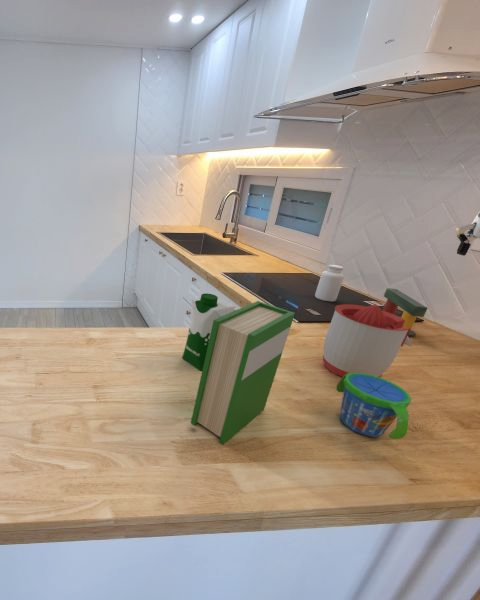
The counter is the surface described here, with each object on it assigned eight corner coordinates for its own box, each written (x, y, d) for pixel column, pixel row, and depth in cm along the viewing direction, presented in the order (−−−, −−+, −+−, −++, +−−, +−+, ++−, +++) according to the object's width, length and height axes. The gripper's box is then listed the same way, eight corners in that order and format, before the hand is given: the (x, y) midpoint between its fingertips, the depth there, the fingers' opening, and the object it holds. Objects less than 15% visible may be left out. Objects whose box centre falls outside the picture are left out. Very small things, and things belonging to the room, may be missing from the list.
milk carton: (177, 357, 95) (189, 291, 87) (200, 351, 99) (214, 287, 92) (201, 374, 88) (216, 303, 80) (224, 366, 92) (241, 298, 84)
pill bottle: (321, 294, 153) (332, 263, 148) (339, 301, 146) (352, 268, 141) (310, 296, 150) (320, 263, 145) (327, 302, 144) (339, 269, 138)
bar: (393, 297, 130) (397, 289, 129) (423, 317, 112) (427, 307, 111) (383, 296, 131) (386, 287, 130) (411, 315, 113) (416, 306, 112)
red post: (391, 317, 132) (400, 298, 129) (401, 324, 126) (410, 305, 123) (370, 314, 134) (378, 295, 131) (378, 321, 128) (387, 301, 125)
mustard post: (408, 330, 121) (417, 310, 118) (419, 338, 115) (429, 317, 112) (385, 326, 123) (393, 306, 120) (394, 334, 117) (404, 313, 114)
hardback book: (223, 445, 65) (253, 336, 56) (190, 422, 71) (213, 319, 62) (264, 409, 76) (295, 312, 67) (232, 392, 81) (257, 300, 72)
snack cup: (314, 399, 80) (329, 363, 77) (362, 405, 79) (378, 368, 75) (355, 450, 66) (375, 408, 62) (414, 457, 65) (438, 416, 61)
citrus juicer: (399, 399, 82) (436, 326, 75) (315, 374, 91) (341, 306, 83) (387, 370, 95) (417, 305, 87) (314, 350, 103) (336, 289, 96)
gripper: (479, 201, 103) (453, 255, 109) (555, 206, 98) (523, 262, 104) (463, 199, 109) (439, 250, 116) (533, 204, 104) (504, 257, 111)
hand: (479, 256), depth 110 cm, fingers open, 9 cm apart
